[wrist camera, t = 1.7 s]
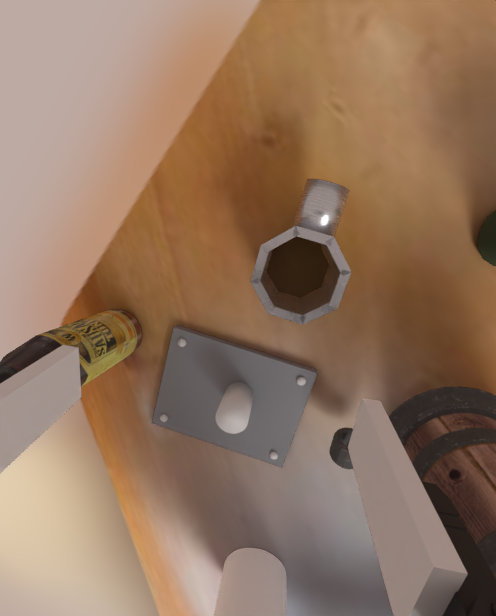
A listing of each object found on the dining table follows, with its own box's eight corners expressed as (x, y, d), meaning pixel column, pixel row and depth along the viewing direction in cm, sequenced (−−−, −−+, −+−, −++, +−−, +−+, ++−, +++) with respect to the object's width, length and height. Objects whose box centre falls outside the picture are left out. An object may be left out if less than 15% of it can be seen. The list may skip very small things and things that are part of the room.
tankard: (555, 406, 34) (909, 635, 14) (495, 523, 38) (705, 819, 19) (344, 358, 36) (408, 502, 16) (310, 474, 40) (328, 696, 21)
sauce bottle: (152, 324, 38) (13, 413, 19) (132, 362, 40) (-16, 480, 20) (108, 296, 38) (-78, 357, 19) (89, 335, 40) (-99, 429, 20)
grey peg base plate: (316, 369, 36) (321, 395, 31) (282, 462, 40) (280, 500, 34) (176, 324, 38) (155, 341, 32) (155, 418, 41) (133, 448, 35)
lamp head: (320, 311, 35) (328, 332, 27) (253, 290, 35) (243, 306, 28) (358, 204, 32) (380, 195, 24) (284, 184, 32) (283, 167, 24)
